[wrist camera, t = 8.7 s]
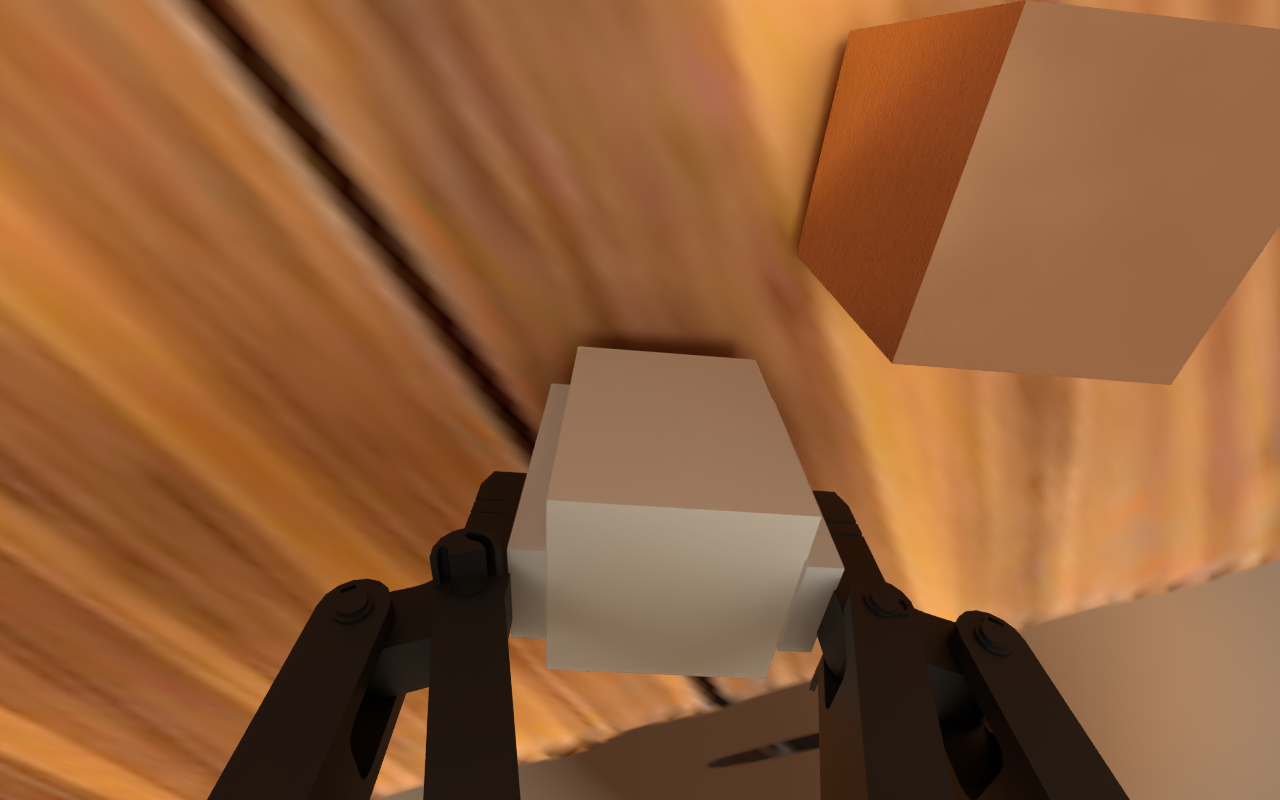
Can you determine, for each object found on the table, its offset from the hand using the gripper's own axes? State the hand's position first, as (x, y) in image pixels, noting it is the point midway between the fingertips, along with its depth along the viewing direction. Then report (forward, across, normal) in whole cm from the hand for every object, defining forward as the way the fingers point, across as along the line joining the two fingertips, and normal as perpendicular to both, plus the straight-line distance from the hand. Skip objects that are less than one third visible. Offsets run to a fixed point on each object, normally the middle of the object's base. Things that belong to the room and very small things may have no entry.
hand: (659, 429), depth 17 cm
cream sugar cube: (0, 0, 0) cm, 0 cm away
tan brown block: (+2, +6, +8) cm, 10 cm away
